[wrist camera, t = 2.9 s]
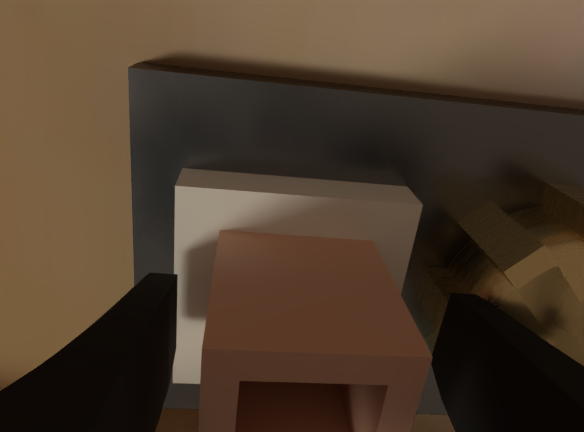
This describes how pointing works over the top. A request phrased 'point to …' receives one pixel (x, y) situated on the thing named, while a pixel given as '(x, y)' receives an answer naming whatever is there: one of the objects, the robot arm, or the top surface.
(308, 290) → the square sleeve on tile
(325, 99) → the carrier plate
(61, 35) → the top surface
